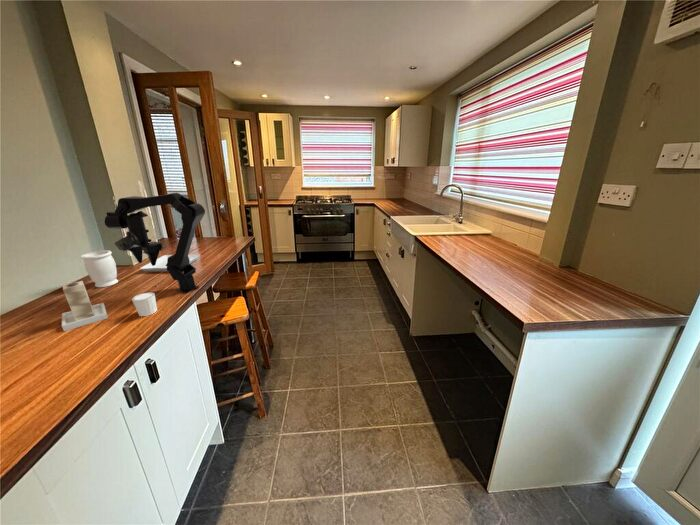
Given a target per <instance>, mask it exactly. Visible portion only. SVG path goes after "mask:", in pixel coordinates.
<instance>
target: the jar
mask: <svg viewBox="0 0 700 525" xmlns="http://www.w3.org/2000/svg"><path fill="white" fill-rule="evenodd" d="M80 257H81V259H83V263H84V268H85V271H86V273H87V275H88V276H89V278H90V279H91V280H92V281H93V283H94V286H95V288H105V287H110V286H113V285H116V284H117V283H118V282H119V280H118V279H117V277H118V270H117V264H116V261H115V259H114V257H113V256H112V251H111V250H97V251H91V252H88V253H84V254H81V256H80Z"/></svg>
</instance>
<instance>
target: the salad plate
mask: <svg viewBox="0 0 700 525" xmlns="http://www.w3.org/2000/svg"><path fill="white" fill-rule="evenodd" d="M172 255H173V254H165V255H162V256H160V257H158V258H157V261H156V264H155V265H154V266H152V264H151V262H150V261H149V263H146V264H145V265H143V266H141V267H140V268H139V269H140V270H141V271H144V272H155V273H156V272H168V271H167V266H165V265H166V264H167V259H168V257H170V256H172ZM188 257H189V260H190V261H189V264H190V265H192V263H194V262H195V261H197V260H198V259H200V258H201V254H188Z"/></svg>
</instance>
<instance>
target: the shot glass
mask: <svg viewBox="0 0 700 525" xmlns="http://www.w3.org/2000/svg"><path fill="white" fill-rule="evenodd" d="M131 300H132V303H133V305H134V307H135V309H136V311H137V313H138V316H139V317H140V316H141V318H143V317H142V316H147V317H149V316H148V315H151V314H153V313H155V312H156V311H157V312H158V307H157V301H156V294H155V292H144V293H143V292H142V293H139V294H137V295H135V296H133V297H132V298H131ZM157 312H156V313H157ZM156 313H155V314H156ZM153 315H154V314H153ZM151 316H152V315H151Z"/></svg>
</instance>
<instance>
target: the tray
mask: <svg viewBox="0 0 700 525" xmlns="http://www.w3.org/2000/svg"><path fill="white" fill-rule="evenodd" d="M92 307H93V310H94V315H95V316H92V317H89V318H85V319H82V320H78V321H76V320H75V318H74V315H73V313H72V311H71V310H70V311H67V312H62V313H61V328H62V330H63V331H64V332H67V331H70V330H73V329H76V328H80V327H83V326H84V327H85V326H86V325H90V324H94V323H97V322H100V321H103V320H107V319H109V316H108V312H107V309H106V307H105V303H104V302H100V303H97V304H92Z"/></svg>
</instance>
